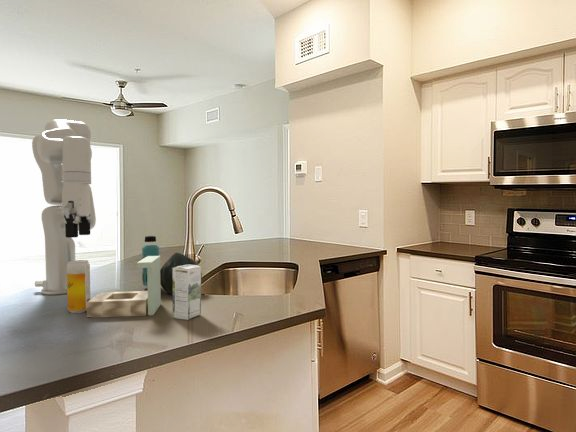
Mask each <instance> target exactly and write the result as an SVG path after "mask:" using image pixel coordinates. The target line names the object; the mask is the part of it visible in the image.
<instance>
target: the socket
mask: <svg viewBox="0 0 576 432" xmlns="http://www.w3.org/2000/svg"><path fill="white" fill-rule="evenodd" d="M147 315H148V290H137V291H136V290H133V291H132V290H131V291H107V292H105V291H103V292H102V291H101V292H100V293H98V294H97V295H95V296H93V297H92V298H91V300H89V301H88V302H87V311H86V318H87V317H95V318H113V317H117V318H119V317H134V316H135V317H137V316H138V317H140V316H142V317H143V316H147Z"/></svg>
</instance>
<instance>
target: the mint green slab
mask: <svg viewBox="0 0 576 432" xmlns="http://www.w3.org/2000/svg"><path fill="white" fill-rule="evenodd" d="M161 259H162V255H159V256H147V257H145V258H144V259H142V258H141V260H139V261H137V262H136V269H137V268H138V269H140V268H141V269H143V268H147V285H148V286H147V291H148V313H147V315H148V316H154V314H155V313H156V312H157V311H158V309H159V307H160V306H161V305H162V301H161V300H162V296H161V295H162V292H161V288H162V286H161V284H160V270H161V261H162V260H161Z"/></svg>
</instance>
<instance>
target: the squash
mask: <svg viewBox="0 0 576 432" xmlns="http://www.w3.org/2000/svg"><path fill="white" fill-rule="evenodd" d="M183 265H197V266H200V265H199V264H198V263H197V262H196V261H195V260H194V259H192V258H191V257H188V256H186V255H185V254H182V253H180V252H175V253H173V254H172V255H171V256H170V257H169V259H168V260H166V262H165V263H164V264H163V266H162V267H160V285H161V288H162V289H163V290H164V292H165V293H168V294H172V295H173V268H174V267H178V266H183ZM202 277H203V273H202V272H201V281H202V279H203V278H202Z"/></svg>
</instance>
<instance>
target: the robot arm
mask: <svg viewBox="0 0 576 432" xmlns="http://www.w3.org/2000/svg"><path fill="white" fill-rule="evenodd" d="M91 133H92V132H91V129H90V127H89V126H88V125H87V123H85V122H83V121H76V120H75V121H74V120H69V119H68V120H67V119H51V120H50V121H48V122H46V124H45V126H44V131H43V132H41V133H40V134H38V135H35V136H33V139H32V142H31V147H32V148H31V149H32V153H33V157H34V159H35V162H36V164H37V166H38V167H39V169H40V172H41V179H42V187H43V189H42V190H43V197H44V200H45V202H46V203H47V204H48V205H50V206H47V207H46V208H44V209H43V210H42V211H41V223H42V228H43V234H44V248H45V279H44V280H35V282H34V286H35V287H36V288H38V287H39V288H40V287H42V289H41V291H40V293H41V294H42V295H48V296H49V295H50V296H51V295H52V296H53V295H55V296H57V295H65V294H67V265H68V262H70V261H76V244H75V243H76V242H75V240H74V239H73V238H78V237H79V236H89V235H91V230H92V229H94V228H95V226H96V222H97V219H96V218H97V217H96V210H95V203H94V199H93V198H94V197H93V192H92V188H91V185H92V157H93V152H92V148H91V138H92V134H91Z"/></svg>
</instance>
